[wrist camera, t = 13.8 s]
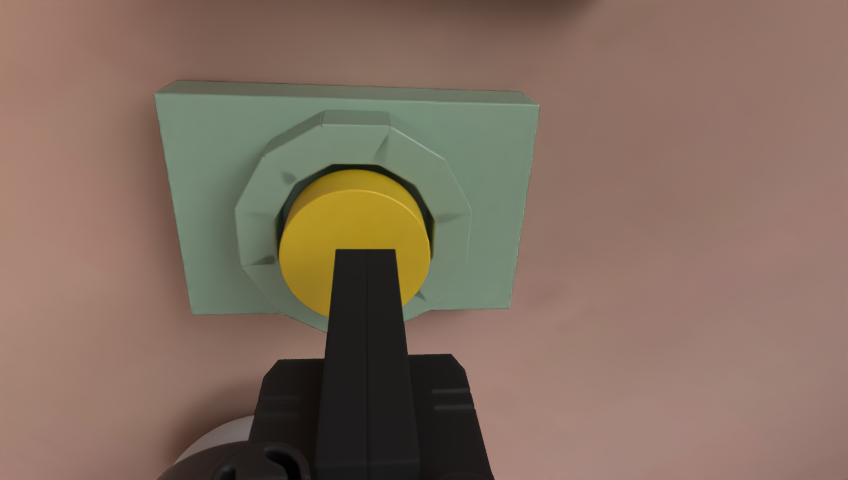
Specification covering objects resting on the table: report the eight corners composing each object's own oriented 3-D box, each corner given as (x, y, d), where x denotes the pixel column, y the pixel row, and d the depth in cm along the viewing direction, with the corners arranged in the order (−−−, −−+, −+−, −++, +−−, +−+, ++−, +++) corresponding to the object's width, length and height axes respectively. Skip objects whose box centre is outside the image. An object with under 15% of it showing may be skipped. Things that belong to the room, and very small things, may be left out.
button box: (522, 91, 19) (560, 117, 16) (496, 280, 23) (523, 337, 19) (175, 79, 18) (129, 106, 14) (206, 284, 21) (175, 346, 18)
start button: (427, 169, 16) (435, 190, 15) (420, 291, 18) (426, 320, 17) (281, 167, 16) (273, 188, 14) (290, 293, 18) (283, 323, 16)
